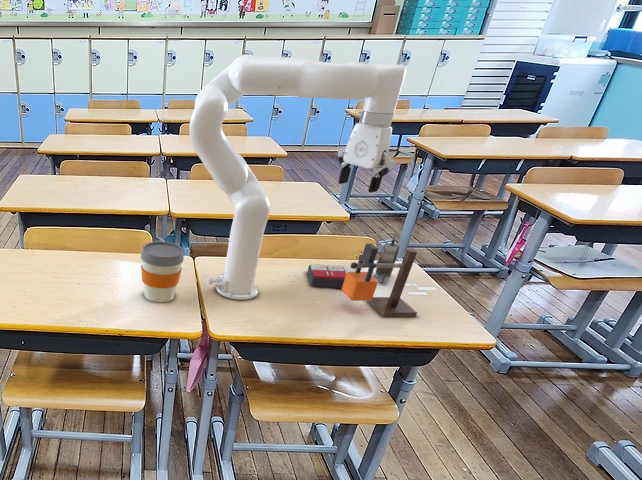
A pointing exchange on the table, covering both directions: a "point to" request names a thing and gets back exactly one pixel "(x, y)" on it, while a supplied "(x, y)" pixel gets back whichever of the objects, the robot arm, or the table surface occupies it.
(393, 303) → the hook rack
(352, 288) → the orange square box
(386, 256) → the alarm clock
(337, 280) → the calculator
